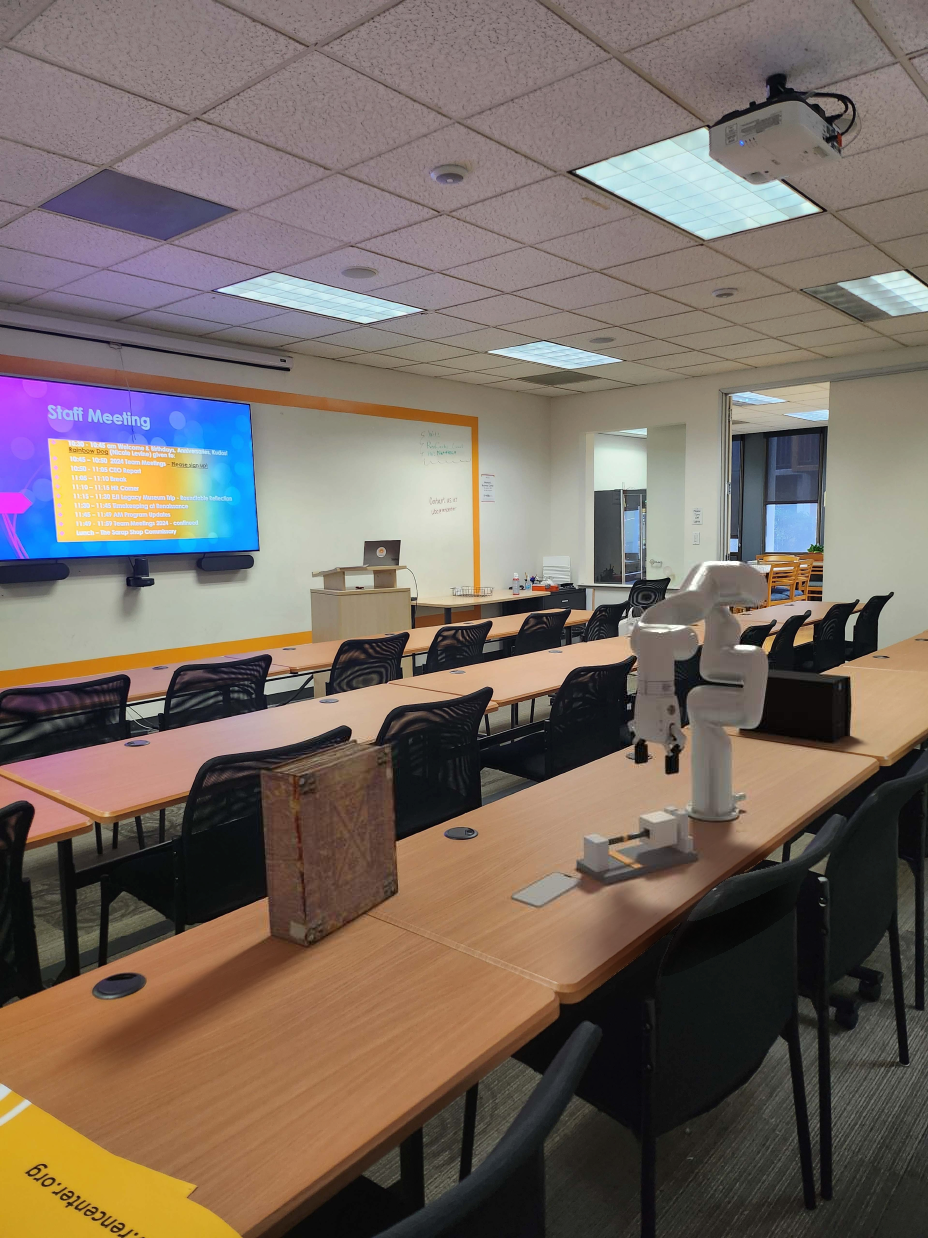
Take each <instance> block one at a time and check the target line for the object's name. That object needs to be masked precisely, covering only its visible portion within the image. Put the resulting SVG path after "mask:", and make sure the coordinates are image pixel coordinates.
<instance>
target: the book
mask: <svg viewBox="0 0 928 1238" xmlns="http://www.w3.org/2000/svg"><path fill="white" fill-rule="evenodd" d="M392 755H393V753H392V744H389V743H387V744H384V745H381V746H379V745H372V744H365V743H358V740H357V739H351V740H347V741H345V742H342V743H339V744H336V745H333V746H330V747H327V748H324V749H321V750H318V751H315V752H311V753H309V754H306V755H303V756H300V757H298V758H294V759H291V760H288V761H286V762H282V763H279V764H276V765H273V766H271V767H270V766H269V767H268V768H264V769H262V770H260V771H259V772H260V775H259V776H260V790H261V803H262V804H261V805H262V821H263V822H262V823H263V836H264V837H263V839H264V854H265V855H264V856H265V869H266V885H267V887H266V888H267V889H266V890H267V901H268V902H267V903H268V904H267V905H268V918H269V933H270V935H271V936H275V937H277V936H278V937H277V938H280V937H281V938H280V939H283V938H284V939H283V940H285V941H288V940H289V942H291V941H292V942H293V943H294V942H295V944H297V943H298V945H300V944H301V946H303V945H304V946H303V947H306V946H307V947H306V948H309V947H311V946H313V945H315V944H316V943H318V942H319V941H321V940H323V939H325V938H326V937H328V936H330V935H331V934H333V933H334V932H336V931H338V930H340V929H341V928H342V927H344V926H346V925H347V924H349V923H351V922H352V921H354V920H356V919H357V918H359V917H360V916H362V915H364V914H366V913H367V912H369V911H371V910H372V909H374V908H375V907H377V906H378V905H381V904H382V903H383V902H386V901H387V900H388V899H390V898H392V897H394V896H395V895H397V894H398V893H399V879H398V878H399V876H398V857H397V836H396V835H397V834H396V816H395V815H396V813H395V794H394V775H393V773H394V771H393V756H392ZM325 936H326V937H325ZM322 938H323V939H322ZM317 941H318V942H317ZM312 944H313V945H312Z"/></svg>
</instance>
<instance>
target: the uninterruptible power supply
mask: <svg viewBox="0 0 928 1238" xmlns="http://www.w3.org/2000/svg"><path fill="white" fill-rule="evenodd" d="M851 681H852V680H851V676H848V675H838V674H837V675H836V674H824V673H815V672H805V671H804V672H802V671H792V670H781V669H769V668H768V677H767V684H766V691H765V699H764V706H763V713H762V718H761V721H760V723H759V725H758V726H757V727H755V728H752V729H744V728H738V729H739V731H744V732H749V733H758V734H765V735H772V736H779V737H784V738H790V739H791V738H792V739H799V740H805V741H813V742H818V743H825V744H826V743H827V744H835V743H837V741H839V740H841V739H843V738H845V737H850V736H851V724H852V723H851V722H852V706H853V705H852V684H851V683H852V682H851ZM737 685H738V687H737V688H743V687H744V685H743V684H737Z"/></svg>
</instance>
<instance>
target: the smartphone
mask: <svg viewBox="0 0 928 1238" xmlns="http://www.w3.org/2000/svg"><path fill="white" fill-rule="evenodd" d="M583 883H584V881H583V879H581V878H578V877H575V876H571V875H568V874H565V873H561V872H559V871H554V872H551V873H549V874H547V875H546V876H544V877H541V879H538V880H536V881H535V882H533V883H532V884H530V885H527V886H526V887H524V888H522V889H521V890H519V891H517V892H515V893H513V894H512V895H511V896H510V898H511V900H514V901H516V902H519V903H522V904H523V903H524V904H526V905H529V906H532V907H534V908H543V907H544V906H546V905H547V904H549V903H551V902H553V901H555V900H556V899H558V898H560V897H562V896H563V895H565V894H566V893H568V892H570V891H572V890H573V889H575V888H576V887H578V886H580V885H581V884H583Z"/></svg>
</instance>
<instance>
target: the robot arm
mask: <svg viewBox="0 0 928 1238" xmlns="http://www.w3.org/2000/svg"><path fill="white" fill-rule="evenodd" d="M768 591H769V586H768V581H767V578H766V577H765V575H764V574H763V572H761V571H760V570H758V569H757V568H755V567H754V566H752V565H750V564H749V563H745V562H743V561H738V560H737V561H735V560H733V561H731V560H729V561H703V562H699V563H697V564H695V565H694V566H693V567H692V568H691V570H690V571H689V573H688V574H687V576H686V577H685V579H684V581H683V582H682V584H681V586H680V587H679V589H678V590H677V592H676V594H673V595H670V596H669V597H667V598H665V599H663V600H660V601H659V602H657V603H654V604H652V605H651V606H650V607H648V608H647V609H645V611H643V613H642V614H641V615H640V617H639V618H638V620H637V621H636V623H635V624H634V626H633V627H632V631H631V634H630V639H629V645H630V650H631V651H632V653H633V654H634V655H635V656H636V659H637V660H636V661H637V662H636V663H637V664H636V671H637V672H636V673H637V674H636V675H637V677H636V678H637V679H636V681H637V682H636V684H637V685H636V686H637V687H636V688H637V693H636V696H635V703H634V717H633V719H632V720H629V721H628V722H627V727H628V729H629V730H628V731H629V736H630V738H631V739H632V745H633V747H634V748H633V749H634V764H635V765H641V764H647V763H648V762H649V746H648V744H647V742H650V743H653V744H656V745H662V746H663V748H664V751H665V752H666V754H665V755H664V773H665V775H668V776H670V775H676V774H679V772H680V755H682V751H684V749H685V745H686V742H687V740H688V737H687V735H686V734H685V733H684V732H683V731H682V724H681V713H680V712H681V711H680V706H679V705H680V704H679V701H678V697H677V695H675V690H676V687H675V661H686V660H688V659H691V658H692V657H693V656H694V655H695V654H696V653H697V650H698V649H699V643H700V642H699V637H698V634H697V632H696V631H695V630H694V629H693V628H692V627H690V625H693V624H695V623H696V624H697V623H699V622H701V621H703V620H704V626H705V628H704V636H703V642H702V647H701V655H700V659H699V674H700V676H701V677H702V679H704V680H705V681H709V682H713V683H721V684H723V683H725V684H734V685H735V684H736V685H739V684H743V685H744V687H743V688H738V687H734V686H733V687H732V686H724V685H723V686H722V685H705V684H703V685H698V686H696V687H693V688H692V689H690V691H689V692H688V694H687V696H686V710H687V716H688V721H689V728H690V729H689V730H690V744H691V745H690V749H691V753H690V754H691V755H690V758H691V759H690V761H691V762H690V763H691V766H690V767H691V769H690V770H691V802H689V803H687V804H686V805H685V806H684V807H685V808H684V810H685V812H687V813H688V816H689V817H691V818H694V819H699V820H702V821H707V822H725V821H731V820H734V819H736V818H737V817H738V816H739V815H740V812H739V811H740V810H739V807H737V806H736V804H737V803H739V802H743V801H746V799H747V795H746V793H745V792H740V793H734V791H733V771H732V770H733V758H732V757H733V756H732V755H733V747H732V746H733V744H732V741H731V737H730V736H729V734H728V733H727V731H726V729H725V728H724V727H726V728H735V729H739V728H744V729H752V728H755V727H757V726H758V725H759V723H760V721H761V718H762V713H763V706H764V699H765V691H766V684H767V677H768V669H769V659H768V655H767V653H766V651H765V650H764V648H762V647H760V646H757V645H750V644H749V645H748V644H740V640H741V634H742V627H741V624H740V622H739V621H738V619H737V618H736V616H735V615H734V613H732V611H731V610H730V609H729V607H744V608H746V607H747V608H749V607H751V608H755V607H760V606H761V605H763V604H764V602H765V601H766V599H767V597H768ZM670 745H671V746H672V747H671V746H670Z"/></svg>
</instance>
